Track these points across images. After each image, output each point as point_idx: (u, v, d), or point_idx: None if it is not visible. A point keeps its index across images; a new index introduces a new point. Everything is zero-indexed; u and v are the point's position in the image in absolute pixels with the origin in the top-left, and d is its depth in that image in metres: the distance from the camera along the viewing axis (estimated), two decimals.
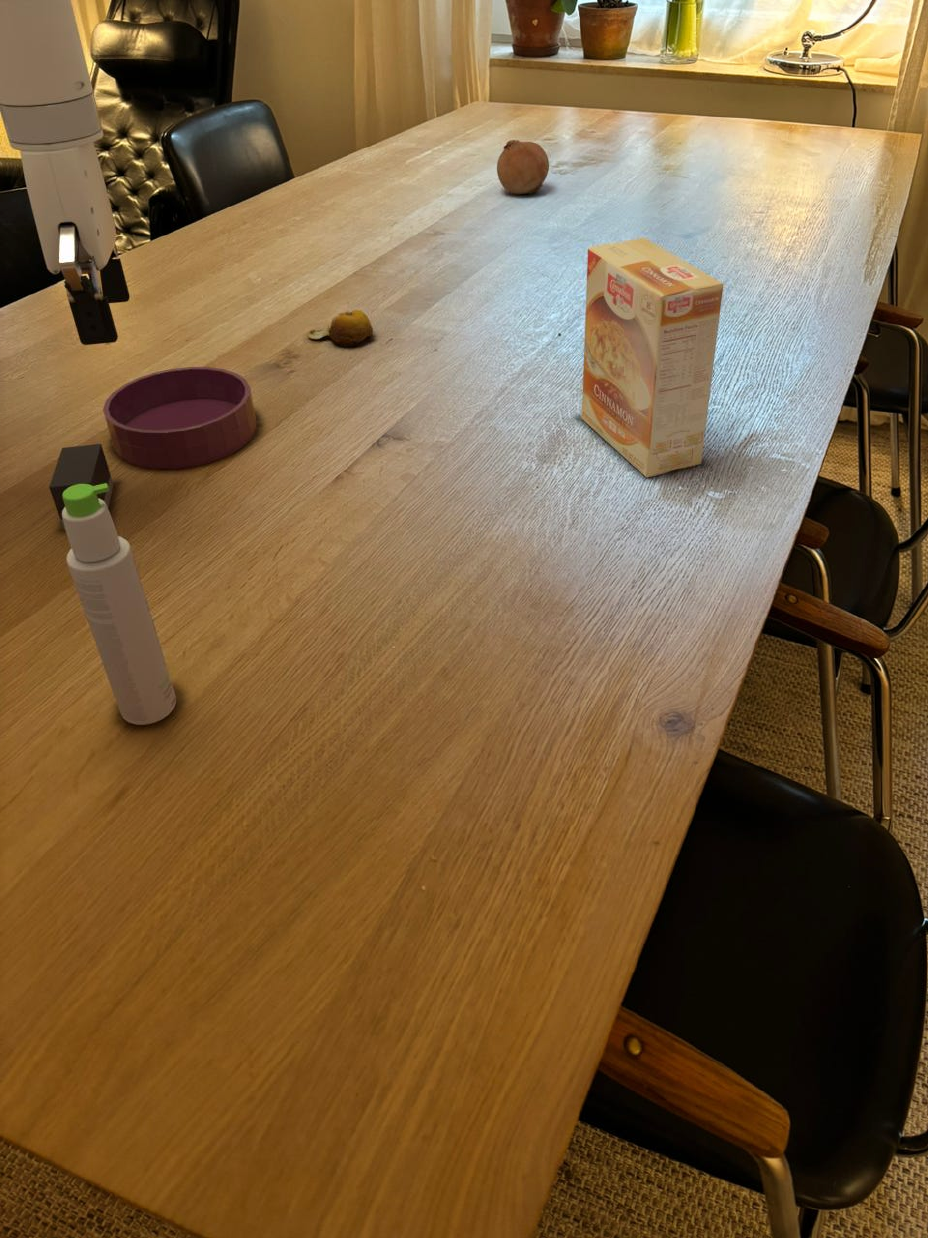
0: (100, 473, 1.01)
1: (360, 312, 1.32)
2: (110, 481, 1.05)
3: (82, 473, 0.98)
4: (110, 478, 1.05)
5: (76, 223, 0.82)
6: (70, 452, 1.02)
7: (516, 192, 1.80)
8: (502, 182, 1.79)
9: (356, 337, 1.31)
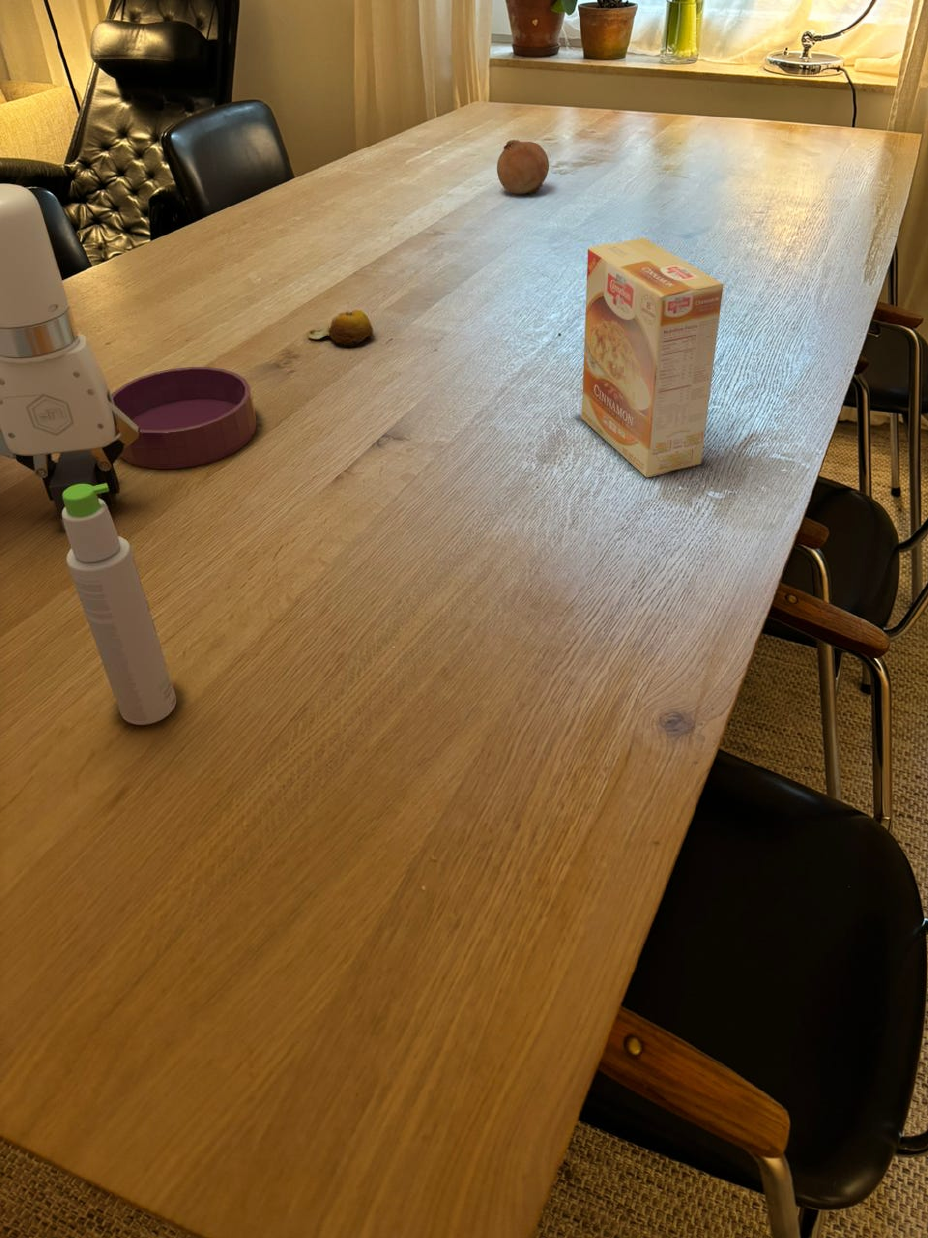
0: None
1: (360, 312, 1.32)
2: None
3: (82, 473, 0.98)
4: None
5: (108, 390, 0.96)
6: (70, 452, 1.02)
7: (516, 192, 1.80)
8: (502, 182, 1.79)
9: (356, 337, 1.31)
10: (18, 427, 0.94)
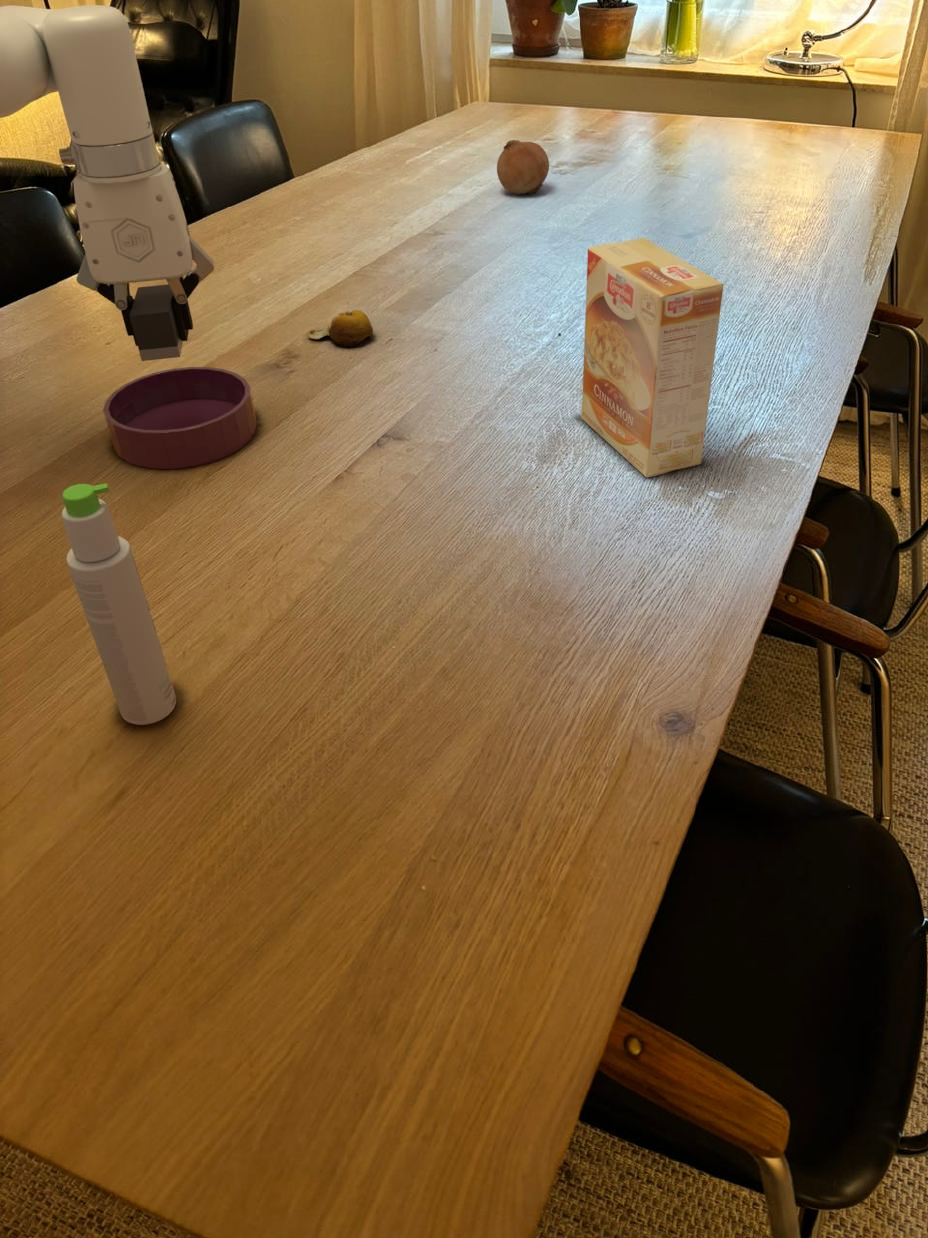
0: None
1: (360, 312, 1.32)
2: None
3: (160, 304, 1.03)
4: None
5: (186, 222, 1.01)
6: (146, 290, 1.06)
7: (516, 192, 1.80)
8: (502, 182, 1.79)
9: (356, 337, 1.31)
10: (102, 253, 0.98)
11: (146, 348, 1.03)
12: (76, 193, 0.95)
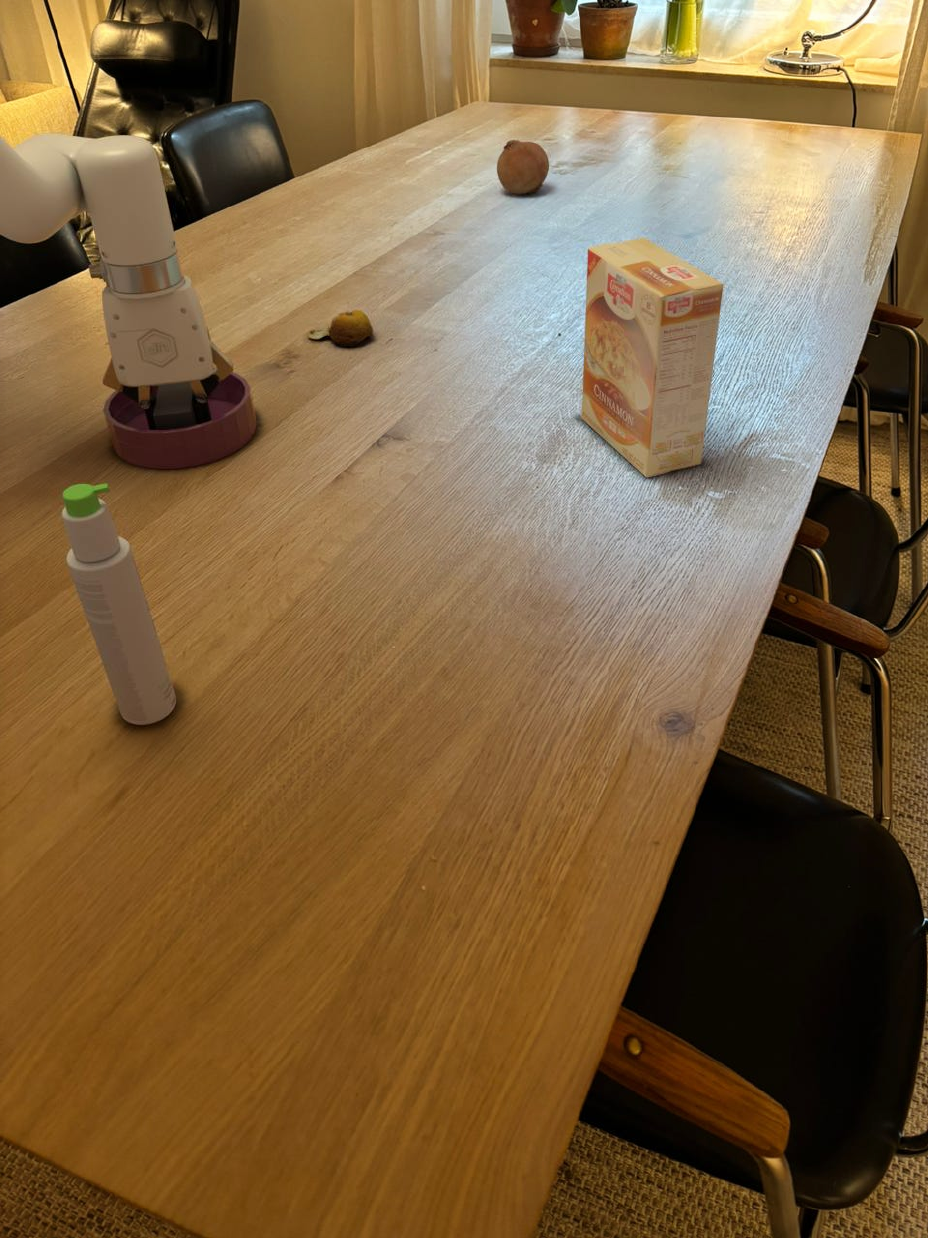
0: None
1: (360, 312, 1.32)
2: None
3: (181, 403, 1.08)
4: None
5: (207, 328, 1.06)
6: (167, 387, 1.11)
7: (516, 192, 1.80)
8: (502, 182, 1.79)
9: (356, 337, 1.31)
10: (128, 359, 1.03)
11: None
12: (104, 306, 1.00)
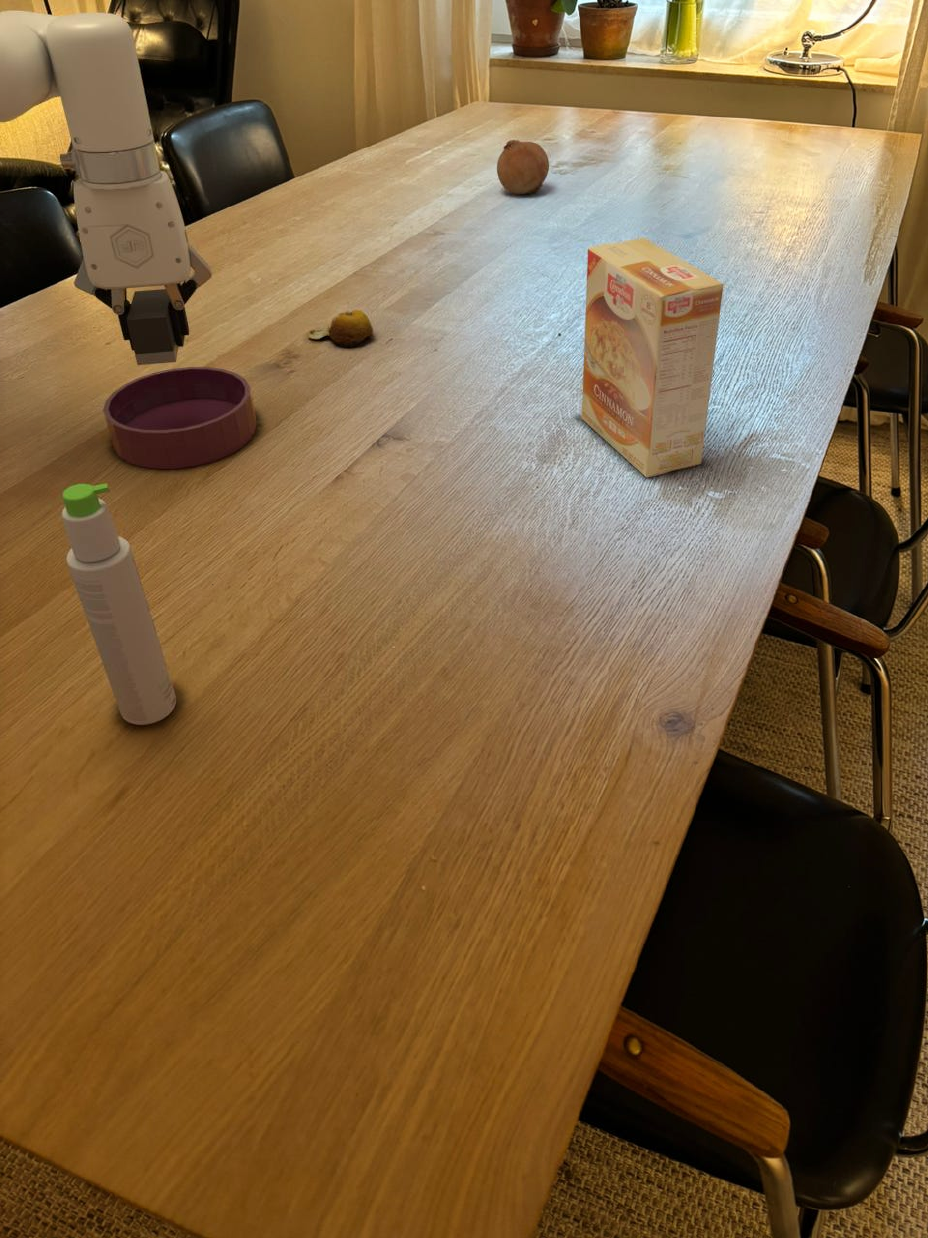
0: None
1: (360, 312, 1.32)
2: None
3: (157, 309, 1.03)
4: None
5: None
6: (143, 294, 1.06)
7: (516, 192, 1.80)
8: (502, 182, 1.79)
9: (356, 337, 1.31)
10: (101, 258, 0.98)
11: (142, 352, 1.04)
12: (76, 198, 0.95)
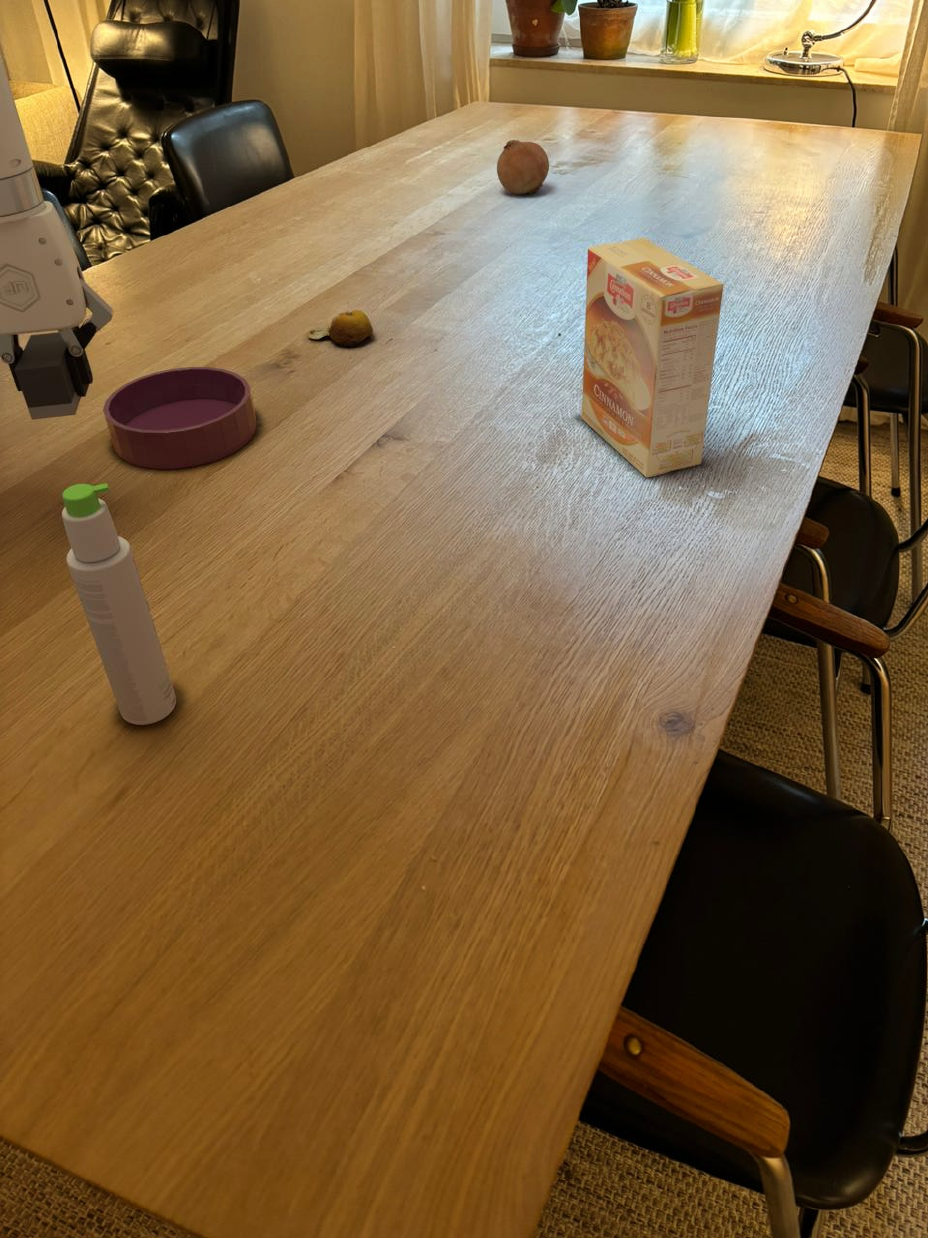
0: None
1: (360, 312, 1.32)
2: None
3: (51, 357, 0.91)
4: None
5: (78, 265, 0.89)
6: (39, 339, 0.94)
7: (516, 192, 1.80)
8: (502, 182, 1.79)
9: (356, 337, 1.31)
10: None
11: (36, 405, 0.92)
12: None
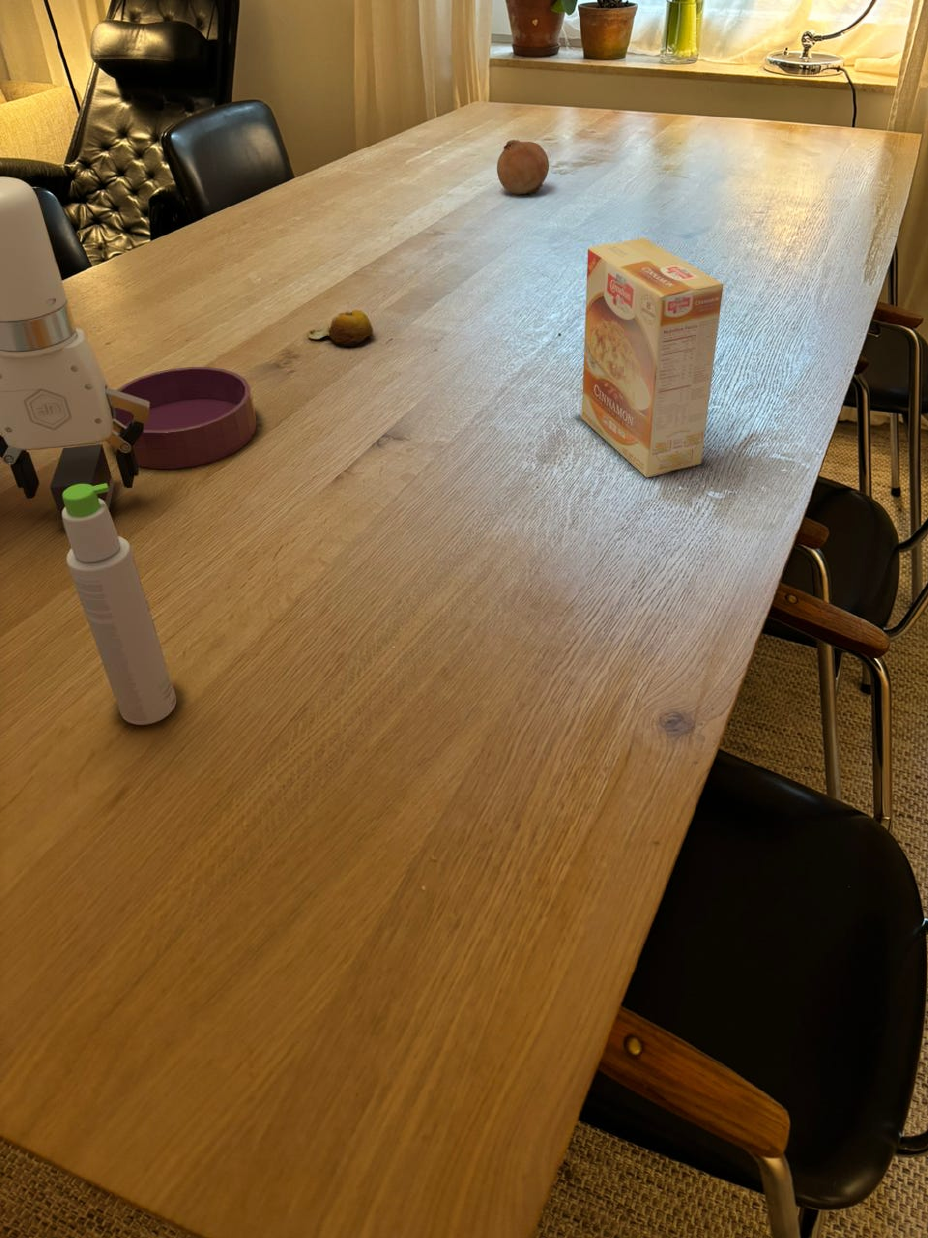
0: (101, 473, 1.01)
1: (360, 312, 1.32)
2: (111, 481, 1.05)
3: (83, 473, 0.98)
4: (111, 478, 1.05)
5: (106, 385, 0.96)
6: (71, 453, 1.02)
7: (516, 192, 1.80)
8: (502, 182, 1.79)
9: (356, 337, 1.31)
10: (15, 421, 0.93)
11: None
12: None
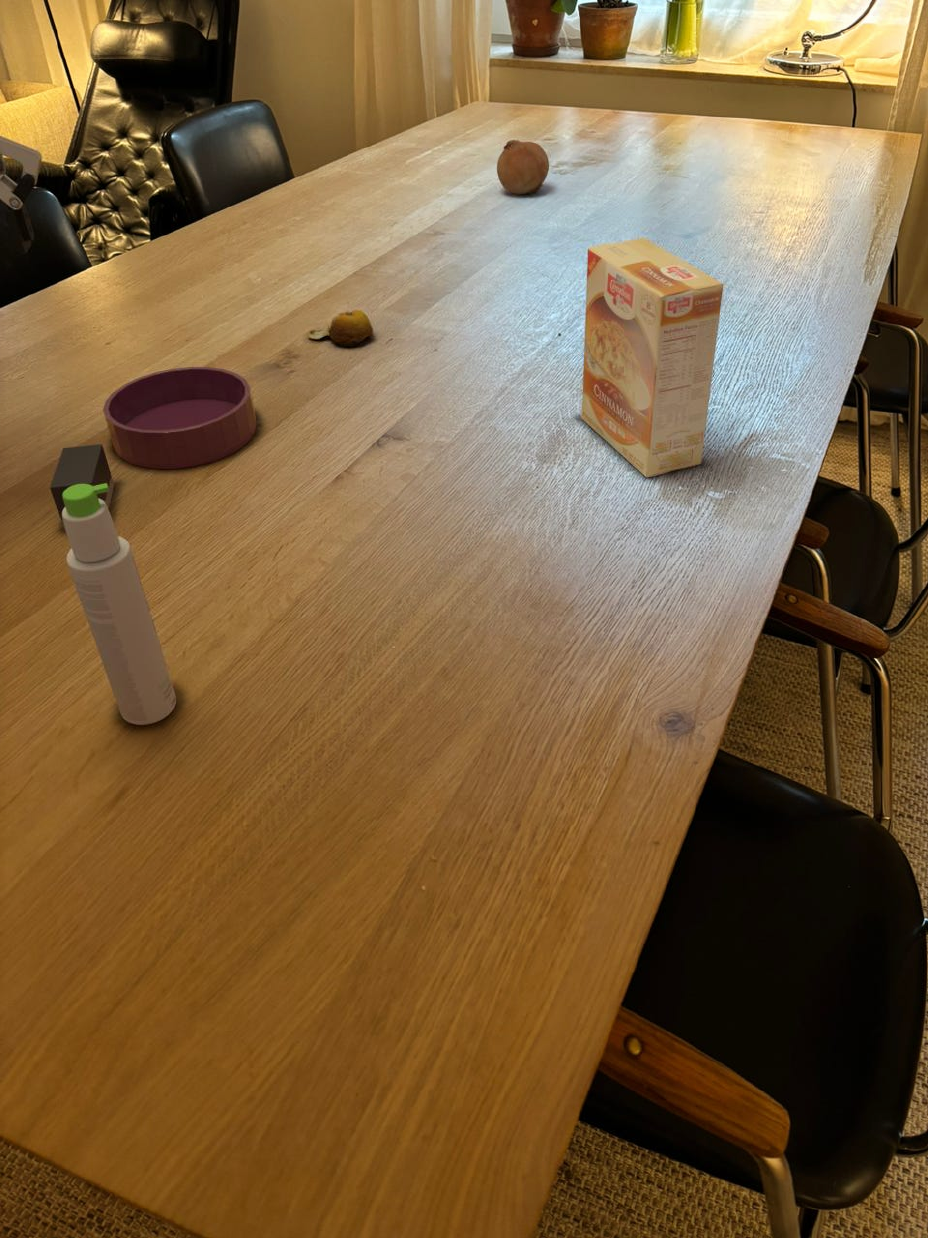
0: (101, 473, 1.01)
1: (360, 312, 1.32)
2: (111, 481, 1.05)
3: (83, 473, 0.98)
4: (111, 478, 1.05)
5: None
6: (71, 453, 1.02)
7: (516, 192, 1.80)
8: (502, 182, 1.79)
9: (356, 337, 1.31)
10: None
11: None
12: None
